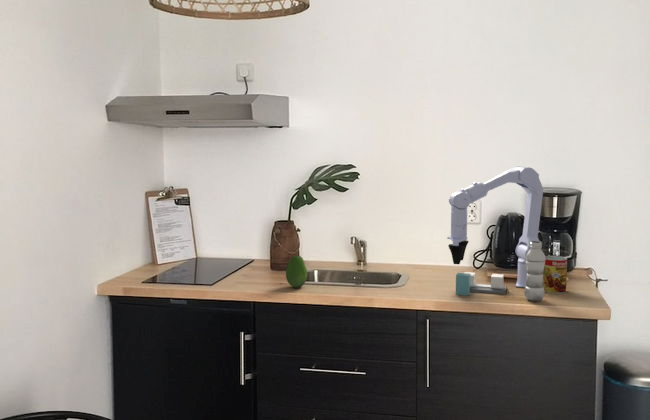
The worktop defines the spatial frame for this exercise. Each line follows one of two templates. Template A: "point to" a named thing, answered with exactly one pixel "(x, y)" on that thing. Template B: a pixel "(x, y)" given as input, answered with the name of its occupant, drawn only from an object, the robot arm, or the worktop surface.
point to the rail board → (495, 286)
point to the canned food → (555, 274)
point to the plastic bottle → (535, 272)
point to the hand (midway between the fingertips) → (458, 262)
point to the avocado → (296, 272)
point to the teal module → (463, 284)
